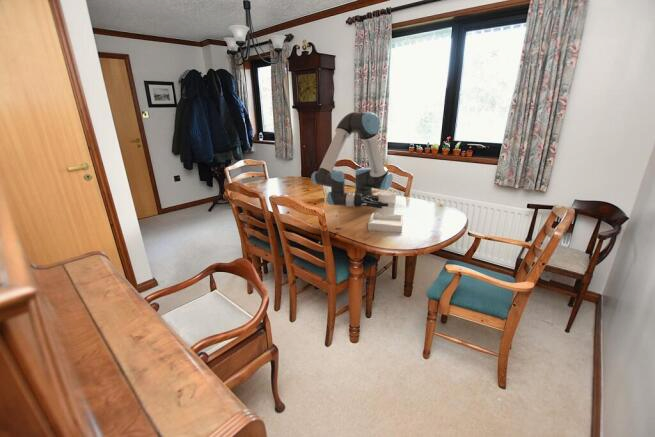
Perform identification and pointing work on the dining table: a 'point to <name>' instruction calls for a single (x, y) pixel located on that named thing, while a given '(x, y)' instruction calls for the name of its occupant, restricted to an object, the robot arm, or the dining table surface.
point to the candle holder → (386, 197)
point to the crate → (386, 223)
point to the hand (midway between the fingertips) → (395, 202)
